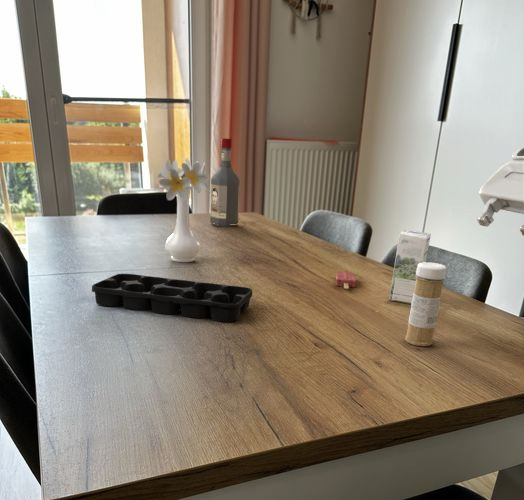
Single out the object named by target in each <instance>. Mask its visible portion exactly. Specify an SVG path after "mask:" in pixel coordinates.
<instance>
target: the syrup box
mask: <svg viewBox="0 0 524 500" xmlns="http://www.w3.org/2000/svg"><path fill="white" fill-rule="evenodd" d="M430 241H431V233H430V232H424V231H423V232H422V231H415V230H414V231H413V230H406V229H404V230H401V232H399V235H398V240H397V246H396V254H395V260H394V265H393V272H392V278H391V285H390V291H389V299H388V301H391V302H397V303H401V304H402V303H403V304H407V305H411V304H412V298H413V293H414V289H415V284H416V277H417V275H416V271H417V266H418V264H419V263H423V262H427V257H428V252H429V246H430Z"/></svg>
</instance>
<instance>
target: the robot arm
mask: <svg viewBox="0 0 524 500" xmlns="http://www.w3.org/2000/svg"><path fill="white" fill-rule="evenodd" d="M478 195H479V196H480V199H481V201H482V202H483V204H484V208H483V212H482V213H481V214H480V215H479V216H478V217H477V219H476V221H477V222H478V224H479V226H482V227H489V226H490V225H491V224H492V223H493V222H494V221H495V219H494V217H493V216H494V214H495V213H498V212H500V211H505V212H512V213H517V214H522V215H524V147H520V148H518V149H517V150H515V151H514V152H513V153H512V155H511V160H510V161H508V162H506V163H504V164H503V165H502V166H500V167H499V168H498V169H496V171H494V173H493V174H491V176H490V177H489V178H488V179H487V180H486V181H485V182H484V183H483V184H482V185H481V187H480V189H479V194H478ZM519 231H520V233H521V235H522V236H523V237H524V224H523V225H521V226H520V228H519Z"/></svg>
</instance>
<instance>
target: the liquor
mask: <svg viewBox="0 0 524 500" xmlns="http://www.w3.org/2000/svg"><path fill="white" fill-rule="evenodd" d="M232 141H233V140H232V138H225V137H224V138H222V137H221V140H220V143H221V144H220V145H221V146H220V148H221V153H220V155H221V157H220V159H221V160H220V165H219V168H218V169H217V170H216V171H215V172H214V174H212V176H211V179H210V210H209V211H210V217H209V220H210V222H209V223H210V224H211V225H212V226H216V227H225V228H227V227H229V228H230V227H237V225H238V224H239V213H240V212H239V211H240V189H241V188H240V186H241V179H240V177H239V176H238V174H237V173H236V172H235V170H234V169H233V167H232V145H233V144H232V143H233V142H232ZM213 223H215V224H213ZM237 223H238V224H237ZM217 224H218V225H217ZM230 224H237V225H230Z"/></svg>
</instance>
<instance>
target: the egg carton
mask: <svg viewBox="0 0 524 500" xmlns="http://www.w3.org/2000/svg"><path fill="white" fill-rule="evenodd" d="M91 292H92V293H94V298H95V304H96V305H99V306H104V307H118V306H121V305H123V308H125V309H128V310H134V311H136V310H137V311H145V310H146V311H147V310H148V309H151V311H152V312H154V313H157V314H165V315H174V314H177V313H179V312H180V314H181V316H183V317H186V318H187V317H188V318H195V319H204V318H207V317H210V318H211V319H212V320H213V321H218V322H226V323H229V322H234V321H237V320H238V319H239V318H240V315H241V313H243V312H244V311H246V310H247V308H249V305H250V302H251V299H252V297H253V289H252V288H250V287H246V286H237V285H230V284H220V283H213V282H212V283H211V282H202V281H195V280H185V279H177V278H168V277H160V276H151V275H143V274H134V273H118V274H115V275H112V276H109V277H107V278H104V279H102V280H100V281H98V282H96V283H93V284H92V285H91Z"/></svg>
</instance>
